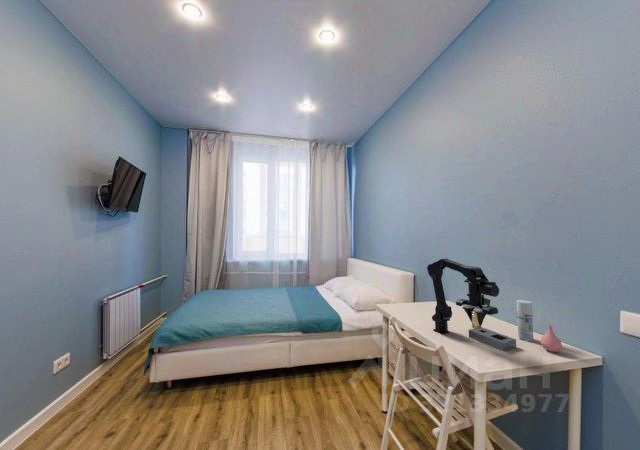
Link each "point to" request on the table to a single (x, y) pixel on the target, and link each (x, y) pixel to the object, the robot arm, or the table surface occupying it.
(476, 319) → the brass fitting
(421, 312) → the table surface
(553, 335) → the pink teardrop bulb
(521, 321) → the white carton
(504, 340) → the manifold plate
